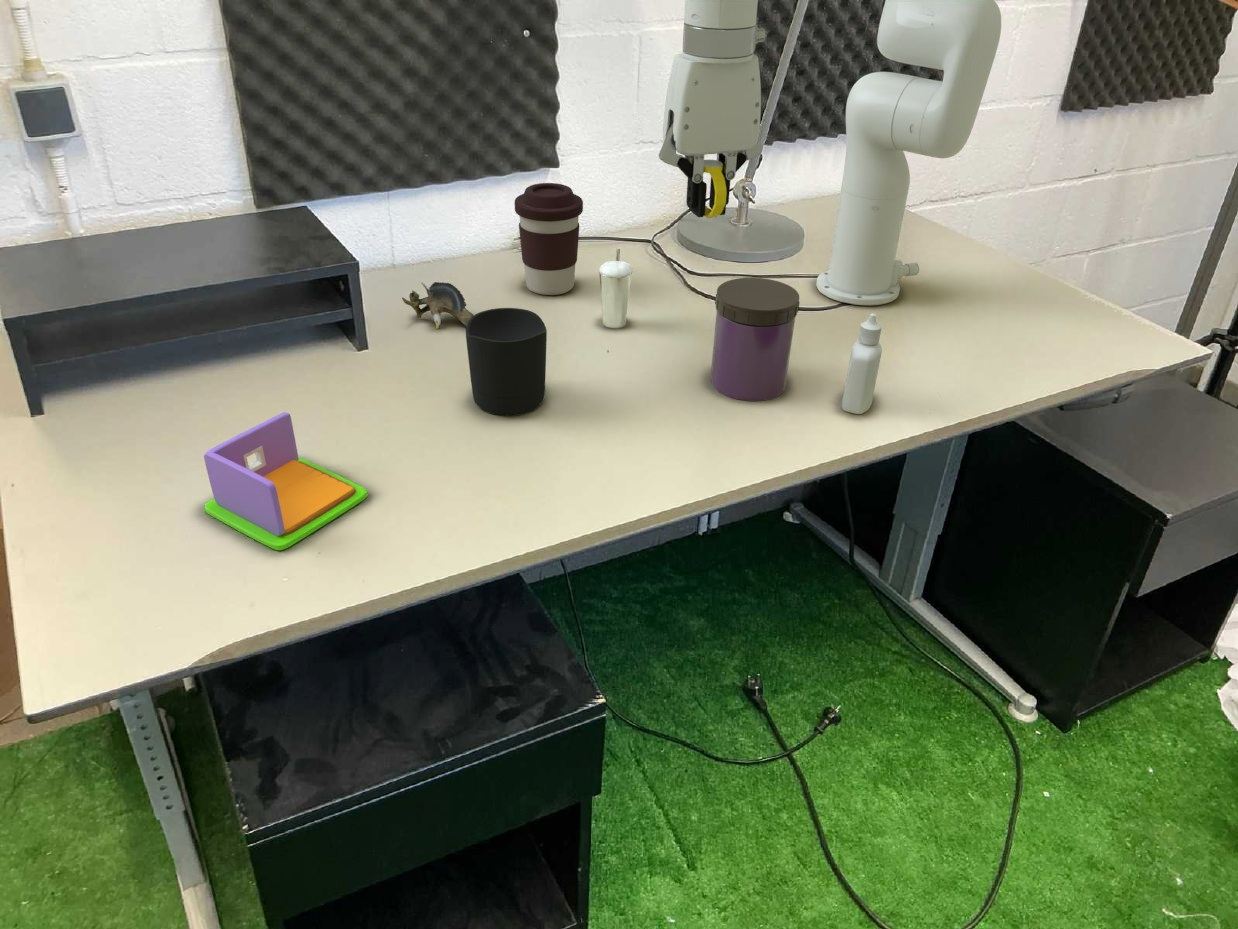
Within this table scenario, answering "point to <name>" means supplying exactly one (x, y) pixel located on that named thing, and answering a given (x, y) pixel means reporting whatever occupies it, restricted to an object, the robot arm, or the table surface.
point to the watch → (716, 187)
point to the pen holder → (507, 360)
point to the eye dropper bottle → (863, 368)
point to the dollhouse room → (274, 486)
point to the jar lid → (757, 301)
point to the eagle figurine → (440, 302)
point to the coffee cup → (549, 236)
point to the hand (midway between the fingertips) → (706, 211)
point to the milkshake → (615, 291)
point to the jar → (750, 359)
